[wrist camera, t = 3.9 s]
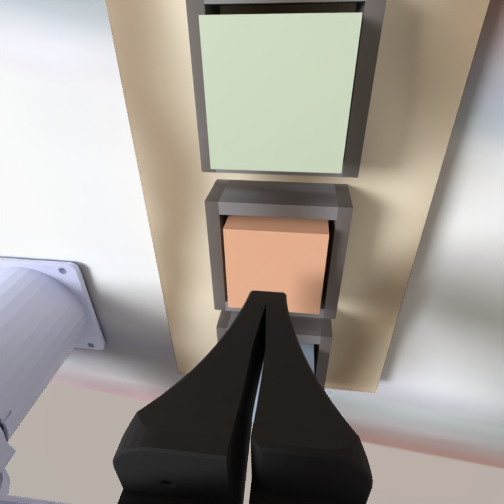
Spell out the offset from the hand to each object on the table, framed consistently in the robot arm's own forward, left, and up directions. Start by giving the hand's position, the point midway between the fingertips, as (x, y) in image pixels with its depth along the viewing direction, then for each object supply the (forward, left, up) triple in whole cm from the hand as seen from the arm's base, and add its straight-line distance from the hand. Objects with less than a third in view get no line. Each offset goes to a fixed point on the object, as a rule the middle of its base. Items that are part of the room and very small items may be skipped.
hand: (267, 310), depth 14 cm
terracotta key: (0, 0, -5) cm, 5 cm away
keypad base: (0, 0, -7) cm, 7 cm away
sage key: (0, +8, -4) cm, 9 cm away
